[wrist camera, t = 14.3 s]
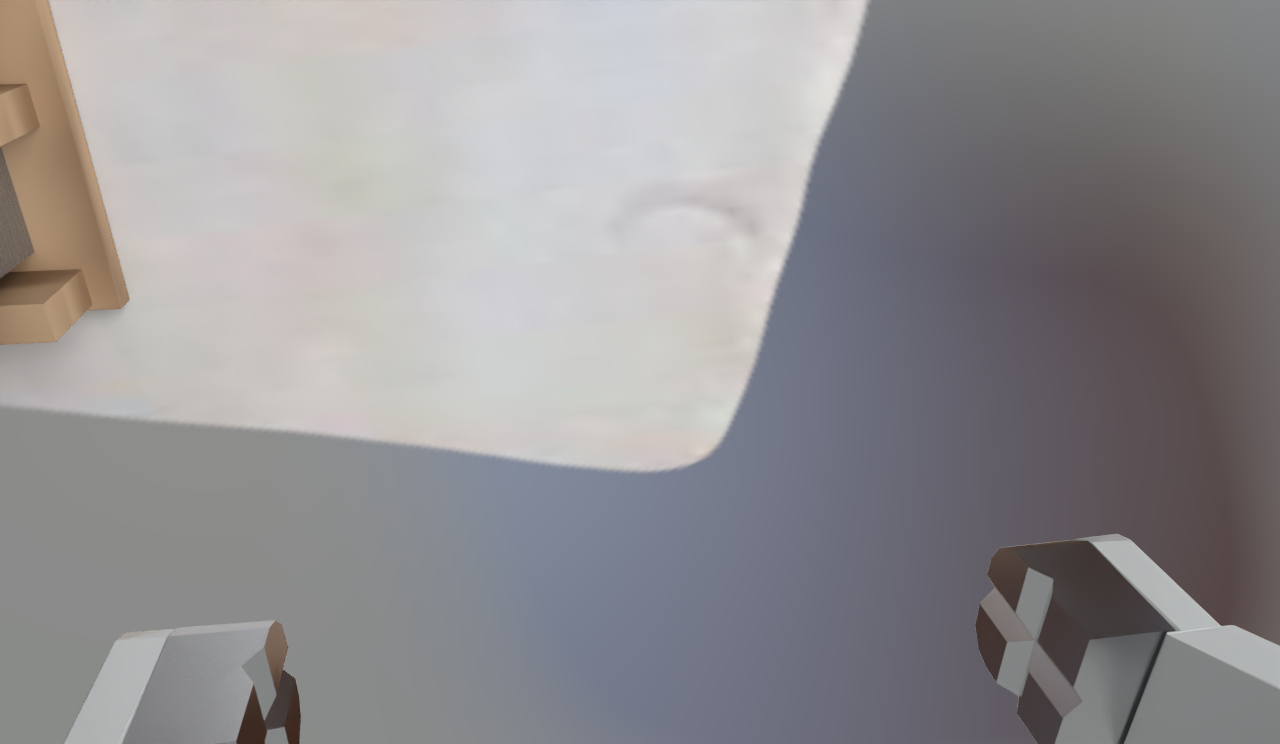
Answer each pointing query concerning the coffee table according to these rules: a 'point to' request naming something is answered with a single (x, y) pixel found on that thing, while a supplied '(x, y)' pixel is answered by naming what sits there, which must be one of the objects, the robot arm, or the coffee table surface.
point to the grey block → (11, 224)
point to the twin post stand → (50, 187)
